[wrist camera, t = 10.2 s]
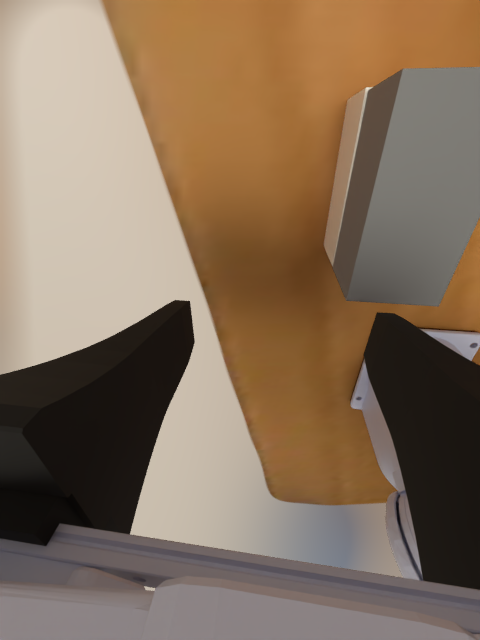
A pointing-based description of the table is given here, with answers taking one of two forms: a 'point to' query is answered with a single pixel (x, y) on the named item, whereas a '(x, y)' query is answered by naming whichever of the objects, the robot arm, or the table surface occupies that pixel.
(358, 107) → the off-white brick
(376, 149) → the charcoal brick
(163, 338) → the robot arm
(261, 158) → the table surface
